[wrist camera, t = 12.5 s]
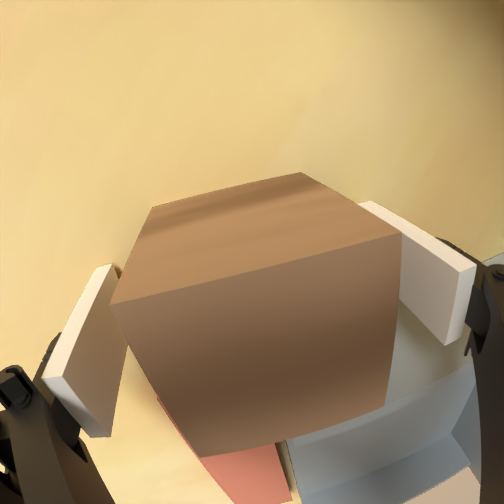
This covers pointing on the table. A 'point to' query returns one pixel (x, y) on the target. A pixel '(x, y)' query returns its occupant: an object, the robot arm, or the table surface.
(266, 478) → the panel
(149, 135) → the table surface
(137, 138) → the table surface
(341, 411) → the walnut block
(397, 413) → the truck bed
